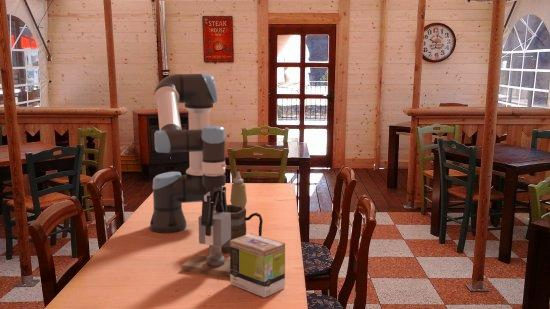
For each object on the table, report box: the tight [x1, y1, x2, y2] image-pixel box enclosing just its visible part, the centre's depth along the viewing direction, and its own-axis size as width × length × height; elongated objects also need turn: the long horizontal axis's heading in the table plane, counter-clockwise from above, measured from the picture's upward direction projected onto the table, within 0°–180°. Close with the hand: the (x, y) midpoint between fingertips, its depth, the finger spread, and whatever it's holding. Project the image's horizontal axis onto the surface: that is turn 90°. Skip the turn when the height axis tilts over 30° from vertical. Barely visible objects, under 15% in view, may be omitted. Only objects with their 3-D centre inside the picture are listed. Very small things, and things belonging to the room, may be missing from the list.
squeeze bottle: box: [230, 171, 248, 208], centre depth 240 cm, size 8×8×18 cm
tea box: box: [229, 233, 286, 298], centre depth 154 cm, size 15×10×15 cm
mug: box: [214, 203, 264, 255], centre depth 187 cm, size 20×14×15 cm
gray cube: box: [198, 211, 231, 246], centre depth 166 cm, size 8×8×9 cm
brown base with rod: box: [181, 245, 230, 279], centre depth 167 cm, size 20×10×16 cm, turn 72°
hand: (215, 240), depth 166 cm, fingers closed on gray cube, 8 cm apart
